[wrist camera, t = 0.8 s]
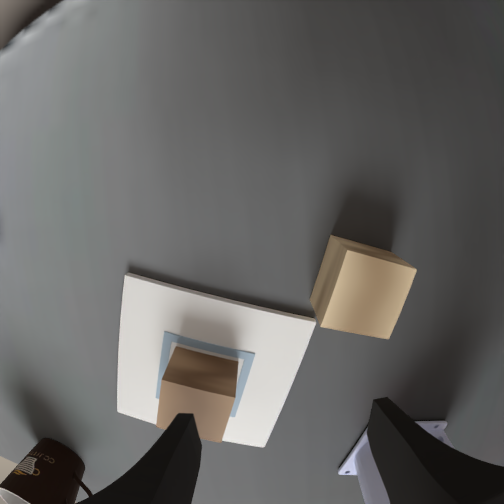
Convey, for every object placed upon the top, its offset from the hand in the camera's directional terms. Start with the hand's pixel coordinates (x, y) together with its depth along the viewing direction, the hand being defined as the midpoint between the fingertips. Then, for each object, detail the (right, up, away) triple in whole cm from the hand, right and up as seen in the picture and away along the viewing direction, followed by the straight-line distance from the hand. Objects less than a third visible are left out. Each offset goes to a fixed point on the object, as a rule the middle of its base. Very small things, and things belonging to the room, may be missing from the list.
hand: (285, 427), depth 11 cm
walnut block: (-5, -2, +11) cm, 12 cm away
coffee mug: (-23, -18, +16) cm, 33 cm away
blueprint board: (-5, -2, +11) cm, 12 cm away
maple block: (+5, +5, +9) cm, 12 cm away
